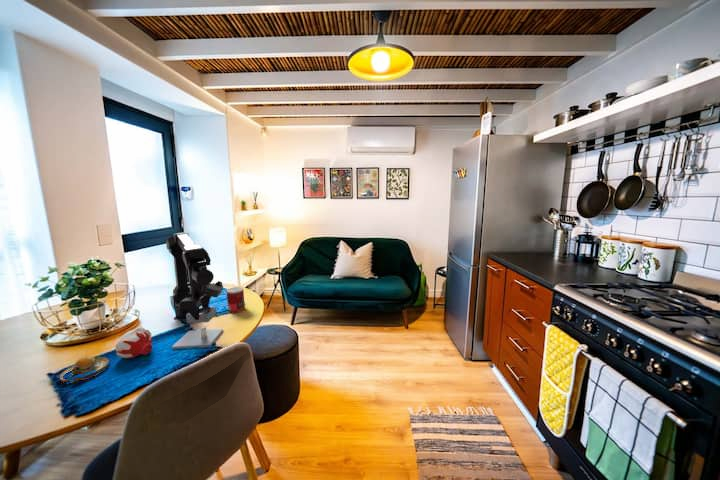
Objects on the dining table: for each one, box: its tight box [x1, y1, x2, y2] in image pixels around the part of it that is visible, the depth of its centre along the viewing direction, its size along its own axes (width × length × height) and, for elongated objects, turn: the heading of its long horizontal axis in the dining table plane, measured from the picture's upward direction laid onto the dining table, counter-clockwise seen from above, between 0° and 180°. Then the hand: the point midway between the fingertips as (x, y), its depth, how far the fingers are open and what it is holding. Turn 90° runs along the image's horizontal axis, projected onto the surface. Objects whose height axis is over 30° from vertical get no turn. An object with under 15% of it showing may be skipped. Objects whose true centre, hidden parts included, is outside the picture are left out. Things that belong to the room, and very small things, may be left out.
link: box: [185, 306, 217, 324], centre depth 105 cm, size 8×7×4 cm
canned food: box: [226, 286, 246, 314], centre depth 133 cm, size 8×8×11 cm
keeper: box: [171, 326, 224, 350], centre depth 106 cm, size 14×12×5 cm
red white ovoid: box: [115, 325, 153, 360], centre depth 96 cm, size 9×11×15 cm
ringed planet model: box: [57, 355, 110, 383], centre depth 86 cm, size 12×12×8 cm
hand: (201, 315), depth 105 cm, fingers closed on link, 7 cm apart
